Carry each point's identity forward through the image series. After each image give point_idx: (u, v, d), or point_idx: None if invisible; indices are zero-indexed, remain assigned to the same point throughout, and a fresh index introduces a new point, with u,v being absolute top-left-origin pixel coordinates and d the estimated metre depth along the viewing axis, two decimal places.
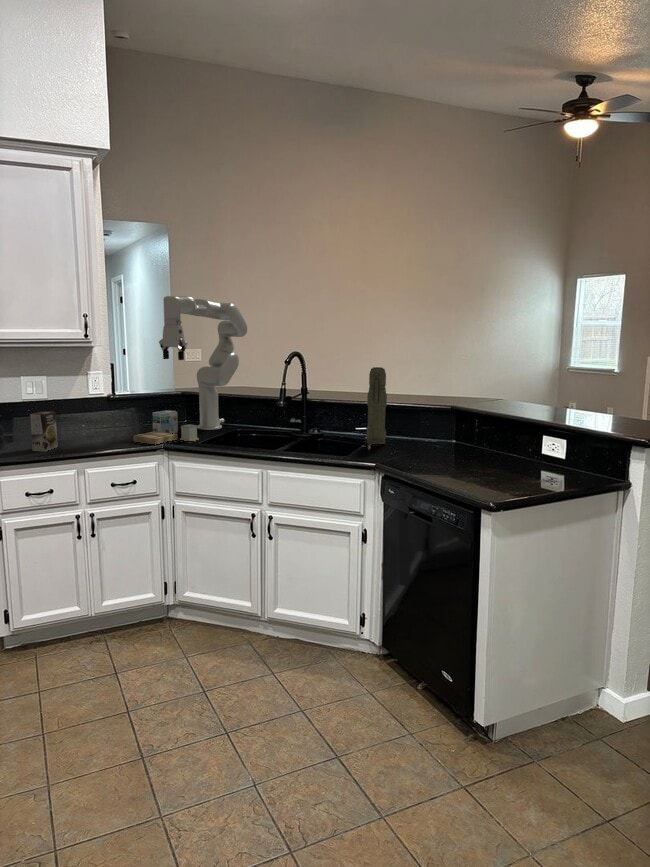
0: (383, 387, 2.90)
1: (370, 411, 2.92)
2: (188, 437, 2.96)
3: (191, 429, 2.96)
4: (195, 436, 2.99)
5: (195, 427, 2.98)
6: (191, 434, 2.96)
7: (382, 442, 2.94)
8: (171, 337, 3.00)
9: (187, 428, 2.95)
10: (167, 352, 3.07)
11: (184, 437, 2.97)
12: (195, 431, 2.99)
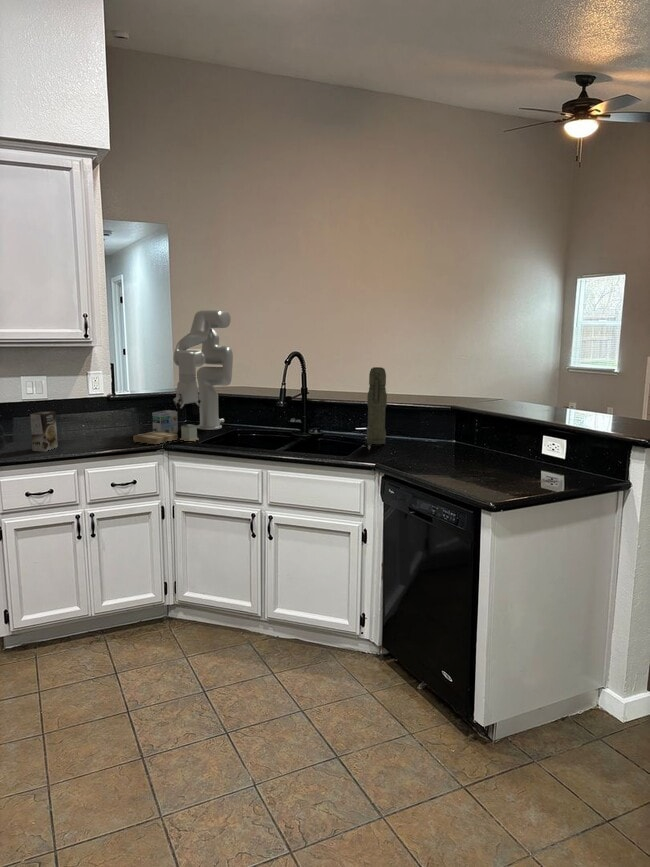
0: (383, 387, 2.90)
1: (370, 411, 2.92)
2: (188, 437, 2.96)
3: (191, 429, 2.96)
4: (195, 436, 2.99)
5: (195, 427, 2.98)
6: (191, 434, 2.96)
7: (382, 442, 2.94)
8: (193, 393, 2.95)
9: (187, 428, 2.95)
10: None
11: (184, 437, 2.97)
12: (195, 431, 2.99)
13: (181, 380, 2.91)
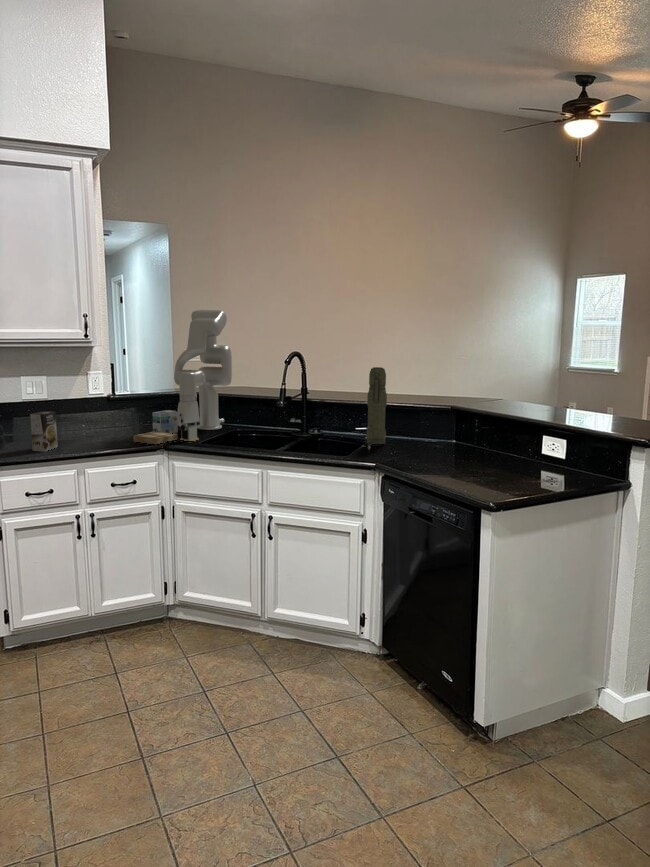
0: (383, 387, 2.90)
1: (370, 411, 2.92)
2: (188, 437, 2.96)
3: (191, 429, 2.96)
4: (195, 436, 2.99)
5: (195, 427, 2.98)
6: (191, 434, 2.96)
7: (382, 442, 2.94)
8: (194, 413, 2.97)
9: (187, 428, 2.95)
10: None
11: None
12: (195, 431, 2.98)
13: (182, 401, 2.93)
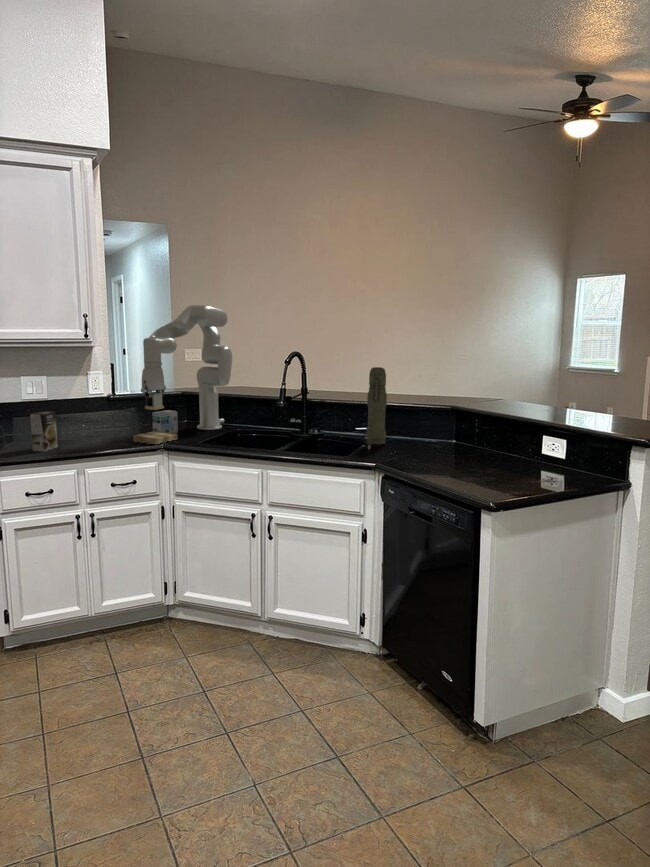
0: (383, 387, 2.90)
1: (370, 411, 2.92)
2: (153, 404, 2.91)
3: (156, 396, 2.91)
4: (160, 404, 2.94)
5: (160, 394, 2.93)
6: (156, 401, 2.91)
7: (382, 442, 2.94)
8: (159, 380, 2.92)
9: (152, 395, 2.90)
10: None
11: None
12: (160, 399, 2.93)
13: (146, 367, 2.87)
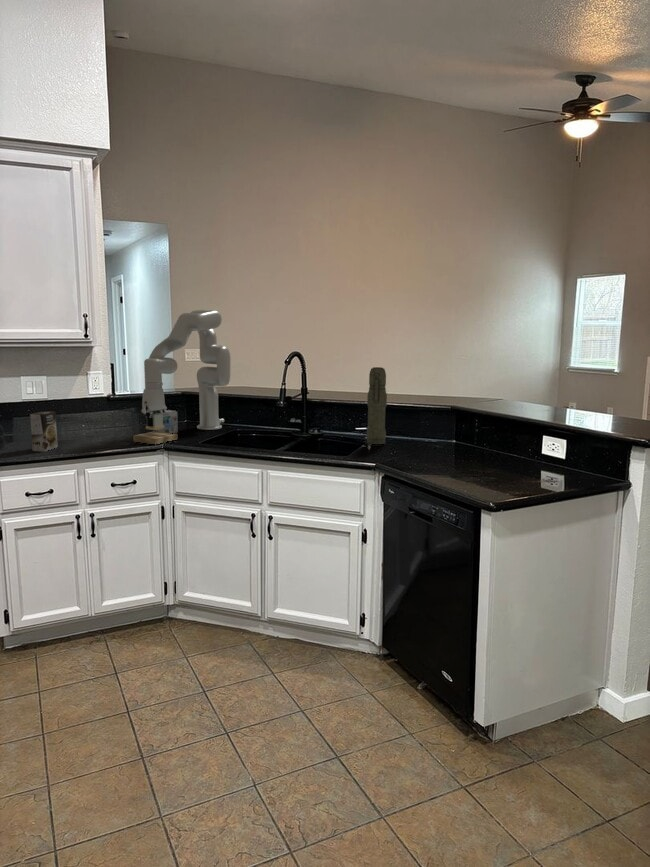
0: (383, 387, 2.90)
1: (370, 411, 2.92)
2: (153, 425, 2.92)
3: (156, 416, 2.92)
4: (161, 424, 2.95)
5: (161, 415, 2.95)
6: (156, 422, 2.93)
7: (382, 442, 2.94)
8: (160, 400, 2.93)
9: (152, 415, 2.92)
10: None
11: None
12: (161, 419, 2.95)
13: (147, 388, 2.89)
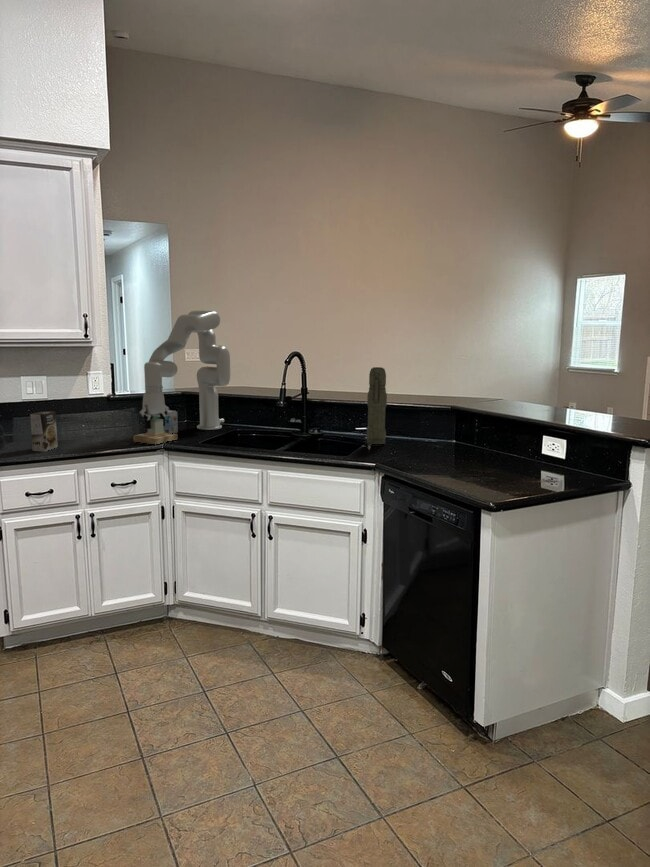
0: (383, 387, 2.90)
1: (370, 411, 2.92)
2: (154, 431, 2.93)
3: (157, 423, 2.93)
4: (161, 430, 2.96)
5: (161, 421, 2.95)
6: (157, 428, 2.94)
7: (382, 442, 2.94)
8: (160, 404, 2.94)
9: (153, 422, 2.92)
10: None
11: (150, 431, 2.94)
12: (161, 425, 2.96)
13: (147, 391, 2.90)
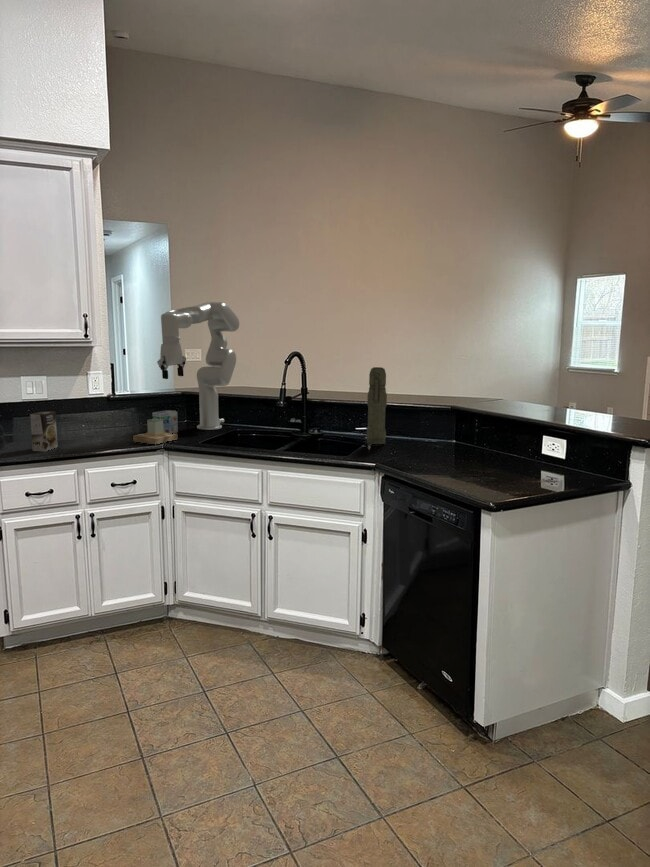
0: (383, 387, 2.90)
1: (370, 411, 2.92)
2: (154, 431, 2.93)
3: (157, 423, 2.93)
4: (161, 430, 2.96)
5: (161, 421, 2.95)
6: (157, 428, 2.94)
7: (382, 442, 2.94)
8: (177, 354, 2.97)
9: (153, 422, 2.92)
10: None
11: (150, 431, 2.94)
12: (161, 425, 2.96)
13: (164, 342, 2.93)
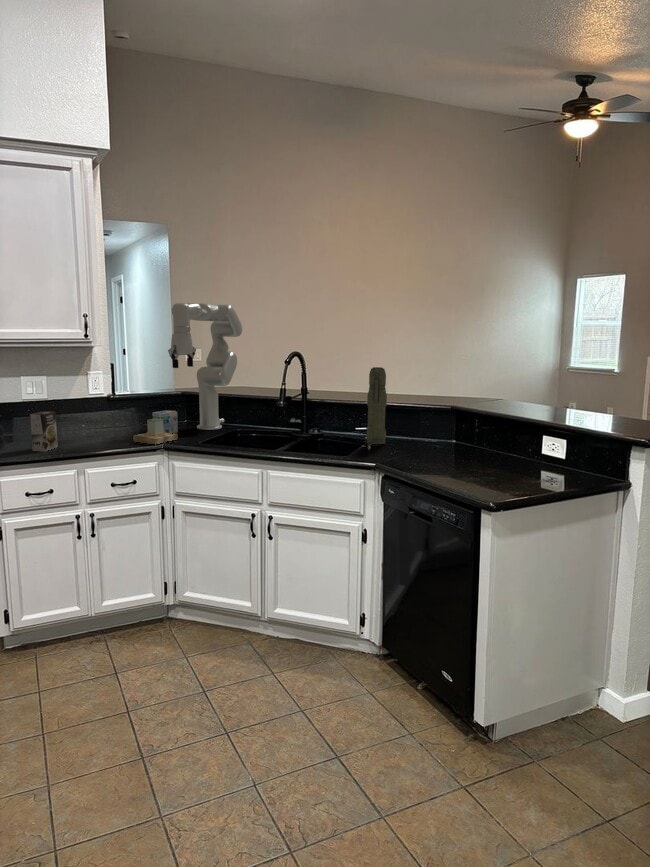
0: (383, 387, 2.90)
1: (370, 411, 2.92)
2: (154, 431, 2.93)
3: (157, 423, 2.93)
4: (161, 430, 2.96)
5: (161, 421, 2.95)
6: (157, 428, 2.94)
7: (382, 442, 2.94)
8: (188, 344, 3.01)
9: (153, 422, 2.92)
10: None
11: (150, 431, 2.94)
12: (161, 425, 2.96)
13: (175, 332, 2.96)
